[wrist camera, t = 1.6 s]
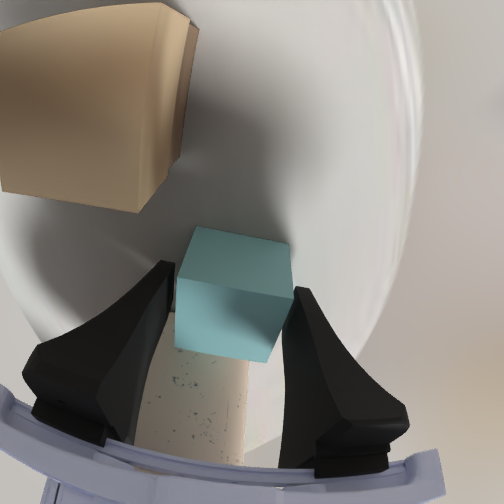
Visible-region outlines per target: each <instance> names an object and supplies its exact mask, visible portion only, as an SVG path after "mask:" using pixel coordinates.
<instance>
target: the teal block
mask: <svg viewBox="0 0 504 504" xmlns="http://www.w3.org/2000/svg"><path fill="white" fill-rule="evenodd" d="M293 300H294V292H293V282H292V272H291V262H290V252H289V244H285V243H280V242H275V241H270V240H265V239H260V238H255V237H250V236H245V235H240V234H235V233H230V232H225V231H220V230H215V229H209V228H204V227H199V226H196V228H195V231H194V234H193V236H192V239H191V241H190V244H189V247H188V249H187V252H186V254H185V257H184V260H183V262H182V265H181V268H180V271H179V273H178V276H177V288H176V310H175V344H174V347H177V348H181V349H186V350H191V351H196V352H201V353H206V354H212V355H217V356H223V357H229V358H235V359H241V360H248V361H255V362H262V363H267V361H268V358H269V356H270V354H271V352H272V349H273V347H274V345H275V343H276V340H277V338H278V336H279V333H280V331H281V329H282V327H283V324H284V322H285V319H286V317H287V315H288V312H289V310H290V308H291V305H292V303H293Z"/></svg>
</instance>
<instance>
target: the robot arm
mask: <svg viewBox="0 0 504 504" xmlns="http://www.w3.org/2000/svg"><path fill="white" fill-rule="evenodd" d="M174 272H175V263H172V262H167V261H163V260H161V261H159V262H158V263H157V264H156V265H155V266H154V267H153V268H152V269H151V270H150V271H149V273H148V274H147V275H145V276H144V277H143V278H142V279H141V280H140V281H139V282H138V283H137V284H136V285H135V286H134V287H133V288H132V289H131V290H130V291H128V292H127V293H126V294H125V295H124V296H123V297H121V298H120V299H119V300H118V301H117V302H115V303H114V304H113V305H111V306H110V307H109V308H107V309H106V310H105V311H103V312H102V313H100V314H99V315H97V316H96V317H94V318H93V319H91V320H89V321H88V322H86V323H84V324H83V325H81V326H79V327H77V328H75V329H73V330H71V331H69V332H67V333H65V334H63V335H61V336H59V337H56V338H54V339H51V340H49V341H46V342H44V343H41V344H38V345H37V346H36V348H35V349H34V351H33V352H32V354H31V356H30V357H29V359H28V361H27V363H26V365H25V367H24V369H23V371H22V376H23V379H24V380H25V382H26V383H27V385H28V386H29V388H30V389H31V390H32V392H33V393H34V394H35V395H36V397H37V399H36V401H35V404H34V406H33V407H31V406H30V405H28V404H26V403H24V402H22V401H20V400H18V399H16V398H15V397H14V395H13V394H12V393H11V392H10V391H9V390H8V389H7V388H6V387H5V386H3V385H1V384H0V450H2V451H4V452H5V453H7V454H8V455H10V456H12V457H13V458H15V459H16V460H18V461H20V462H22V463H23V464H25V465H27V466H29V467H30V468H32V469H34V470H36V471H38V472H40V473H42V474H44V475H46V476H47V477H48V478H47V481H46V484H45V488H44V491H43V495H42V499H41V504H424V503H426V502H430V501H432V500H435V499H438V498H440V497H443V496H445V495H446V490H445V485H444V479H443V474H442V468H441V463H440V458H439V454H438V450H437V449H431V450H427V451H422V452H418V453H415V454H413V455H411V456H409V457H407V458H406V459H405V460H399V461H394V462H388V456H387V453H388V452H390V443H391V442H392V441H394V440H395V439H397V438H398V437H400V436H401V435H403V434H404V433H405V432H406V431H407V430H408V428H409V426H410V424H409V419H408V415H407V411H406V407H405V405H404V404H403V403H401V402H400V401H399V400H397V399H396V398H395V397H393V396H392V395H391V394H389V393H388V392H387V391H385V389H383V388H382V387H381V386H380V385H379V384H378V383H377V382H375V381H374V380H373V379H372V378H371V377H370V376H369V375H368V374H367V373H366V372H365V370H364V369H363V368H362V367H361V366H360V365H359V364H358V363H357V362H356V360H355V359H354V358H353V357H352V356H351V354H350V353H349V352H348V351H347V349H346V348H345V347H344V345H343V344H342V342H341V341H340V340H339V338H338V337H337V335H336V334H335V332H334V331H333V329H332V327H331V326H330V324H329V322H328V321H327V319H326V317H325V316H324V314H323V312H322V310H321V308H320V307H319V305H318V303H317V301H316V299H315V298H314V296H313V294H312V292H311V290H310V289H309V288H304V287H299V286H296V287H295V289H294V300H293V303H292V305H291V308H290V310H289V312H288V315H287V317H286V319H285V322H284V324H283V327H282V350H283V363H284V376H285V405H284V420H283V432H282V441H281V450H280V457H279V465H278V468H259V467H246V466H236V465H227V464H219V463H212V462H205V461H199V460H193V459H188V458H182V457H177V456H172V455H168V454H163V453H159V452H155V451H151V450H147V449H143V448H139V447H136V446H134V441H135V434H136V428H137V422H138V417H139V411H140V406H141V401H142V396H143V392H144V387H145V383H146V379H147V375H148V371H149V367H150V364H151V361H152V358H153V355H154V353H155V350H156V347H157V345H158V342H159V340H160V337H161V335H162V332H163V329H164V327H165V324H166V322H167V319H168V316H169V312H170V309H171V305H172V301H173V293H174ZM129 464H130V465H129ZM132 465H133V466H132ZM134 466H137V467H140V468H144V469H148V470H152V471H156V472H161V473H165V474H170V475H161V476H160V475H155V474H149V473H144V472H139V471H135V468H134ZM172 475H174V476H172ZM178 476H179V477H178ZM274 487H284V488H283V489H279V488H274Z"/></svg>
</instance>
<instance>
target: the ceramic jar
mask: <svg viewBox="0 0 504 504" xmlns="http://www.w3.org/2000/svg"><path fill="white" fill-rule="evenodd" d="M174 344H175V313H174V312H169V316H168V319H167V322H166V324H165V327H164V329H163V332H162V335H161V337H160V340H159V342H158V345H157V347H156V350H155V353H154V355H153V358H152V361H151V364H150V367H149V371H148V375H147V379H146V383H145V387H144V392H143V396H142V401H141V406H140V411H139V417H138V422H137V428H136V434H135V441H134V446H136V447H139V448H143V449H147V450H151V451H155V452H159V453H163V454H168V455H172V456H177V457H182V458H188V459H193V460H199V461H205V462H212V463H219V464H227V465H236V466H243V458H244V442H245V426H246V410H247V393H248V377H249V361H248V360H241V359H235V358H229V357H223V356H217V355H212V354H206V353H201V352H196V351H191V350H186V349H181V348H177V347H174ZM129 465H130V464H129ZM132 466H133V465H132ZM134 468H135V471H139V472H144V473H149V474H155V475H160V476H161V475H170V474H165V473H161V472H156V471H152V470H148V469H144V468H140V467H137V466H134ZM172 476H174V475H172ZM178 477H179V476H178Z"/></svg>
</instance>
